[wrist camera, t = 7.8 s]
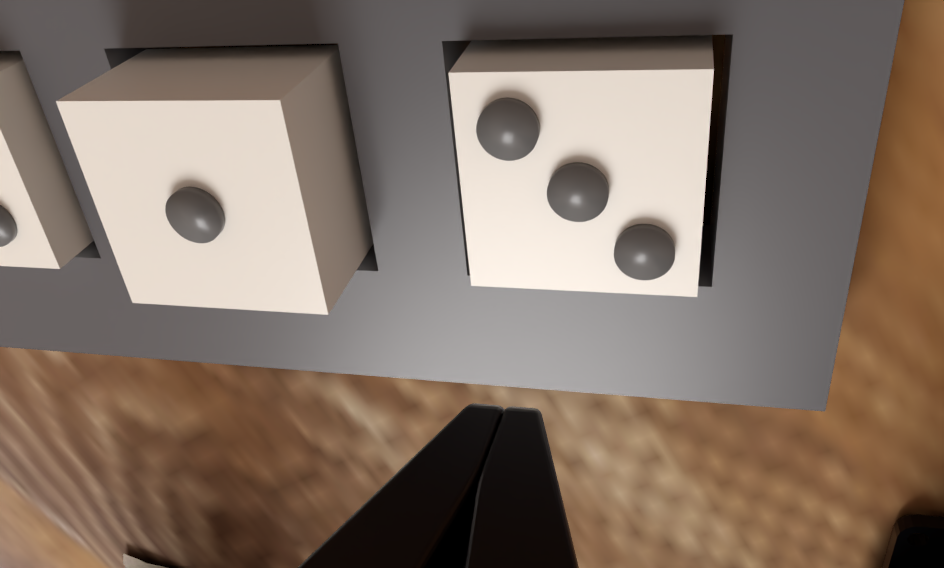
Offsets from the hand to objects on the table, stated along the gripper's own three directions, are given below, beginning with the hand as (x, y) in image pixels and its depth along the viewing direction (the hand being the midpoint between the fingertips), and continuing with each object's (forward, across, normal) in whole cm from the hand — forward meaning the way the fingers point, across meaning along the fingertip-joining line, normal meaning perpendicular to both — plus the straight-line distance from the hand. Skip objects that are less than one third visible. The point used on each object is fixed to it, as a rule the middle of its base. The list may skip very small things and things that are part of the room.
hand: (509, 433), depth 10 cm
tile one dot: (+8, +7, 0) cm, 11 cm away
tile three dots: (+9, 0, 0) cm, 9 cm away
